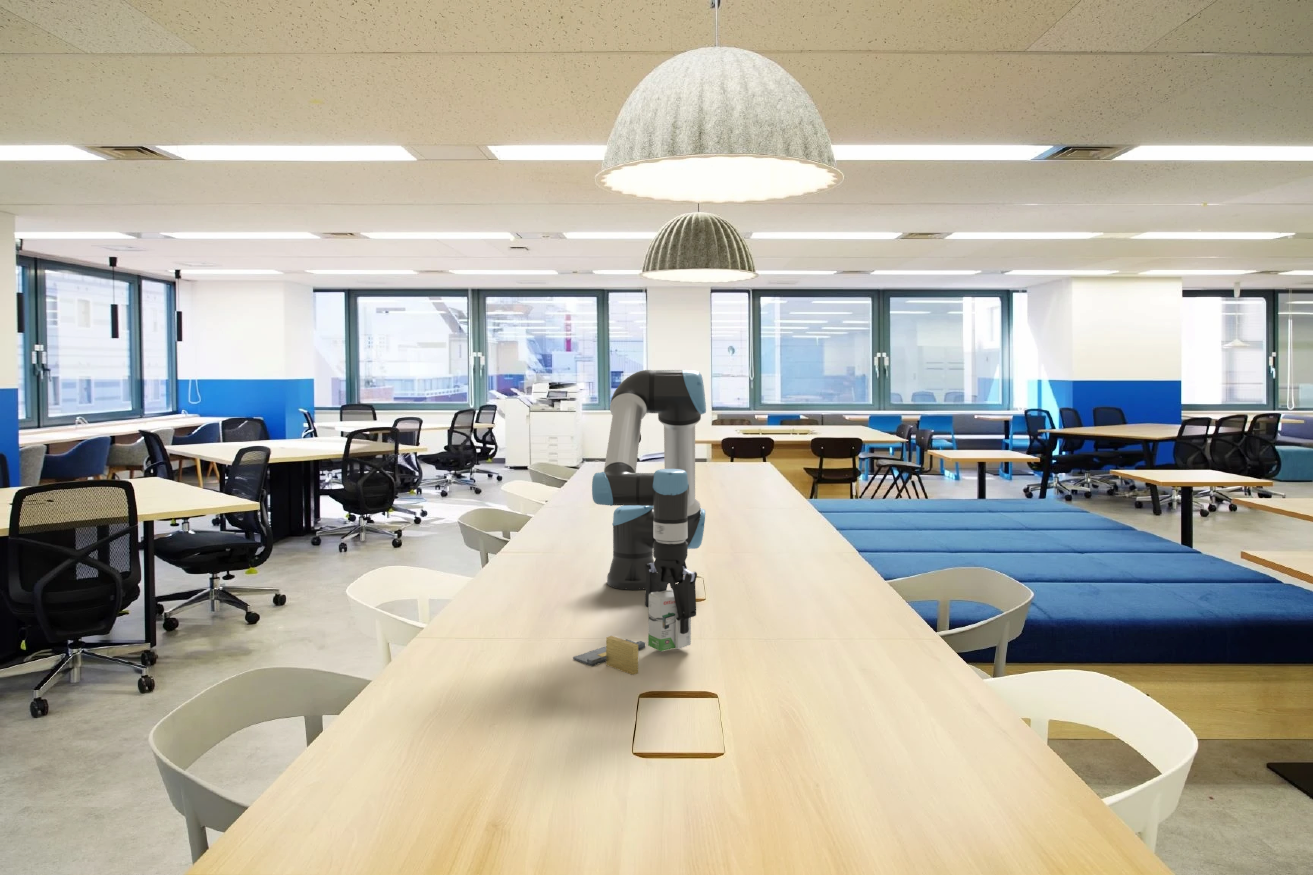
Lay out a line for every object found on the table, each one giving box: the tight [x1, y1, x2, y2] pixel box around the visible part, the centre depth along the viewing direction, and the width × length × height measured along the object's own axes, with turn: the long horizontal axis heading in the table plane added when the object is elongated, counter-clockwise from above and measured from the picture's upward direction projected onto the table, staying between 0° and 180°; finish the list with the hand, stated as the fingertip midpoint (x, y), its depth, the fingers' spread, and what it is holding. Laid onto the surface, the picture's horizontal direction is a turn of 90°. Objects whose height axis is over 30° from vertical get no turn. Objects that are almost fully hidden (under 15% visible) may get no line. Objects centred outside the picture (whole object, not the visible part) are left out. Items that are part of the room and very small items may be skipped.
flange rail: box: [572, 635, 646, 676], centre depth 173 cm, size 16×16×6 cm
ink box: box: [647, 588, 692, 652], centre depth 177 cm, size 9×5×12 cm, turn 124°
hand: (670, 643), depth 177 cm, fingers closed on ink box, 6 cm apart
